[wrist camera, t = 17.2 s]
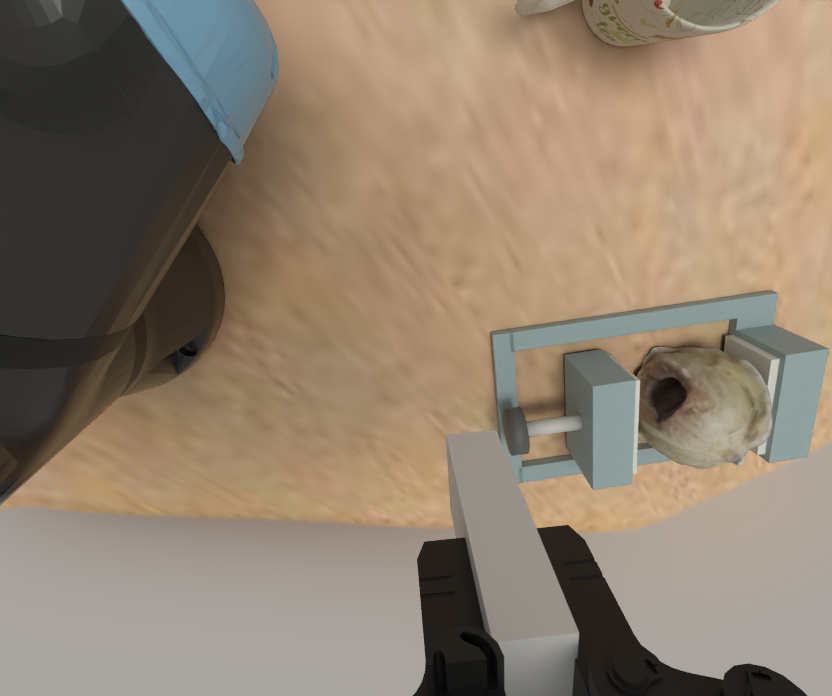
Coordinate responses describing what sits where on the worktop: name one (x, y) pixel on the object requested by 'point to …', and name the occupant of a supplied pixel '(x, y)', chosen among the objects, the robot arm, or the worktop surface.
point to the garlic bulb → (702, 406)
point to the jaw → (590, 419)
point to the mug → (656, 17)
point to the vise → (748, 339)
